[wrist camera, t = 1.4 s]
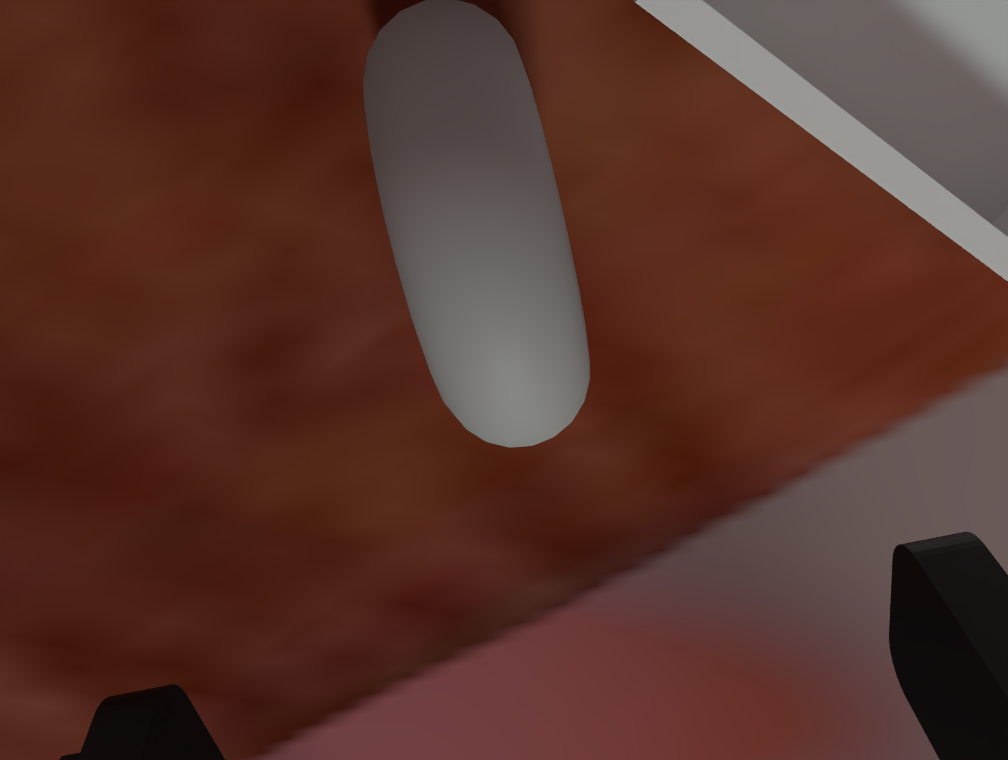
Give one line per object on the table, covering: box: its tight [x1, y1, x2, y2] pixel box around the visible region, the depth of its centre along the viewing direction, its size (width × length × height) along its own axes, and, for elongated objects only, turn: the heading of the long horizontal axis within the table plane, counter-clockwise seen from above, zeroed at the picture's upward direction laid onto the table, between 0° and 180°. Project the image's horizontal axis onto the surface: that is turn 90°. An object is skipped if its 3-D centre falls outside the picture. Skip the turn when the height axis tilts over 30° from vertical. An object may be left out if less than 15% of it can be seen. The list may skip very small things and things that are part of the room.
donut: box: [363, 0, 590, 447], centre depth 21 cm, size 10×4×10 cm, turn 12°
